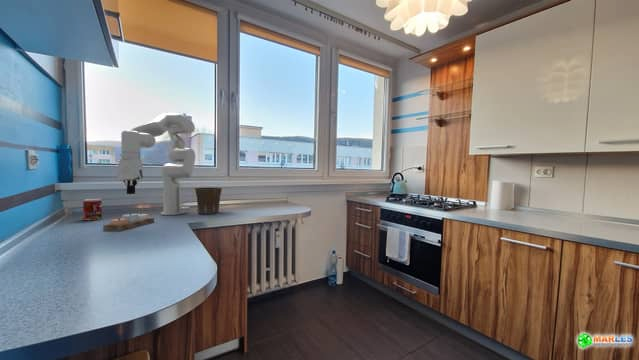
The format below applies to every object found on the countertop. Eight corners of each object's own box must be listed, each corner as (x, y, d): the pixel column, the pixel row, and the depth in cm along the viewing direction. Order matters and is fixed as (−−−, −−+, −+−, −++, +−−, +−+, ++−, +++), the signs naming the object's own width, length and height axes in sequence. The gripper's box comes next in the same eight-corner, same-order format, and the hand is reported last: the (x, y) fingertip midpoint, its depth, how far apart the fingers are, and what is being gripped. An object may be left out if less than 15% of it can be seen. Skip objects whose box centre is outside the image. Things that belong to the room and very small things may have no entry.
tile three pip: (118, 225, 123) (118, 217, 122) (127, 226, 122) (127, 218, 122) (110, 228, 118) (109, 219, 118) (119, 228, 117) (119, 219, 117)
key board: (139, 221, 137) (139, 217, 137) (153, 222, 136) (153, 217, 136) (103, 230, 117) (103, 225, 117) (120, 231, 116) (120, 225, 116)
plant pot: (222, 210, 177) (222, 187, 176) (222, 214, 161) (222, 188, 161) (196, 211, 171) (196, 187, 170) (193, 215, 156) (193, 189, 155)
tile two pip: (130, 220, 129) (130, 213, 129) (138, 221, 128) (138, 213, 128) (122, 222, 124) (122, 214, 124) (130, 223, 124) (130, 214, 124)
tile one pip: (140, 220, 135) (140, 213, 135) (148, 221, 135) (148, 213, 135) (133, 222, 131) (133, 214, 130) (141, 222, 130) (141, 215, 130)
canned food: (85, 221, 136) (85, 200, 136) (81, 219, 141) (81, 199, 140) (104, 219, 142) (103, 199, 142) (99, 217, 147) (99, 198, 147)
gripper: (110, 155, 123) (110, 194, 123) (138, 155, 121) (138, 194, 122) (123, 156, 130) (123, 193, 131) (151, 157, 129) (150, 193, 129)
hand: (131, 193), depth 126 cm, fingers closed
